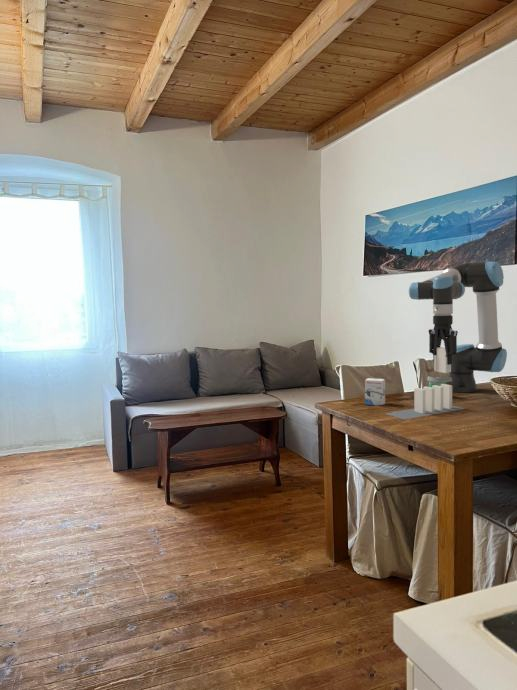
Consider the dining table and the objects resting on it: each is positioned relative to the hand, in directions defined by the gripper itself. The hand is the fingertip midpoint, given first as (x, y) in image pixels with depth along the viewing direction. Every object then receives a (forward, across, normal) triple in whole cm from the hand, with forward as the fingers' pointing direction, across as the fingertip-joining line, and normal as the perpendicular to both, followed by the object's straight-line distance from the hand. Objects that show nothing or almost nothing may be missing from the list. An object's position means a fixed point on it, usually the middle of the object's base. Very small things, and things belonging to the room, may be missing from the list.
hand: (442, 371), depth 215 cm
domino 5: (+18, -8, +11) cm, 23 cm away
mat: (+19, -9, -1) cm, 21 cm away
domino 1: (+18, -9, -4) cm, 21 cm away
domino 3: (+18, -8, +6) cm, 21 cm away
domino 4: (0, 0, 0) cm, 0 cm away
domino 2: (+18, -9, +1) cm, 20 cm away
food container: (+19, -28, +26) cm, 42 cm away
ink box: (+19, -33, -8) cm, 39 cm away
